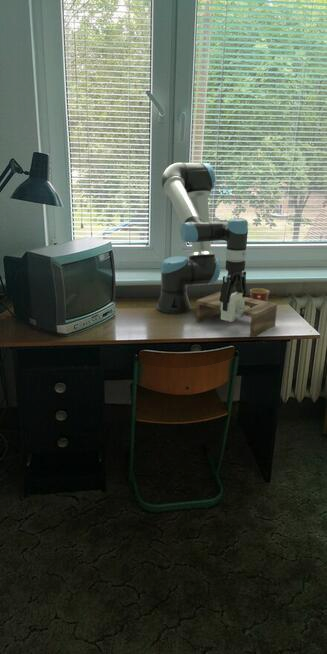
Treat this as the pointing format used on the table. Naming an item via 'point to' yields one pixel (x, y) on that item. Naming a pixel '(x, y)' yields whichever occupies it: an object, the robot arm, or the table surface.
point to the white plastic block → (234, 306)
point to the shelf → (240, 312)
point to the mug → (259, 294)
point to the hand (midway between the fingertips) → (232, 315)
